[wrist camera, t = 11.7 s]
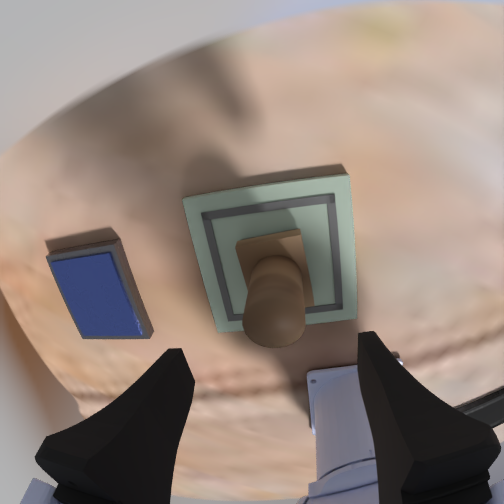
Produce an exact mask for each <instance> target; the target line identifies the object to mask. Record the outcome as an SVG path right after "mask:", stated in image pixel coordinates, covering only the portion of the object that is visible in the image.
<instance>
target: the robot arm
mask: <svg viewBox="0 0 504 504" xmlns="http://www.w3.org/2000/svg"><path fill="white" fill-rule="evenodd" d="M402 365H403V362H402V360H401V359H400V358H395V357H394V356H393V355H392V353H391V352H390V351H389V350H388V348H387V347H386V346H385V345H384V343H383V342H382V341H381V340H380V338H379V337H378V335H377V334H376V333H375V332H374V331H369V332H362V333H358V363H357V365H352V366H345V367H337V368H329V369H321V370H312V371H309V372H308V373H307V384H308V393H309V404H310V414H311V425H312V434H313V435H315V436H316V465H317V481H316V482H312V483H309V495H308V496H303V497H302V498H300V499H299V501H298V502H297V504H504V479H503V480H501V481H499V482H497V483H495V484H493V485H492V486H490V487H489V484H488V480H489V479H490V475H489V472H488V469H489V467H490V466H491V465H492V464H493V462H494V461H495V460H496V458H497V457H498V455H499V453H500V451H501V446H500V443H499V440H498V438H497V436H496V434H495V432H494V431H493V429H492V427H491V426H490V425H488V424H486V423H483V422H481V421H478V420H476V419H474V418H471V417H469V416H467V415H466V414H464V413H462V412H460V411H458V410H456V409H455V408H453V407H452V406H450V405H449V404H447V403H445V402H444V401H442V400H441V399H439V398H438V397H437V396H435V395H434V394H433V393H431V392H430V391H429V390H428V389H426V388H425V387H424V386H423V385H422V384H421V383H419V382H418V381H417V380H416V379H415V378H414V377H413V376H412V375H411V374H410V373H409V372H408V371H407V370H406V369H405V368H404V367H403V366H402ZM194 386H195V380H194V378H193V375H192V373H191V371H190V368H189V366H188V363H187V361H186V358H185V356H184V353H183V351H182V348H173V349H168V350H167V351H166V352H164V353H163V354H162V356H161V357H160V358H159V359H158V360H157V361H156V362H155V363H154V364H153V365H152V366H151V367H150V368H149V369H148V370H147V371H146V372H145V373H144V374H143V375H142V376H141V377H140V378H139V379H138V380H137V381H136V382H135V383H134V384H133V385H131V386H130V387H129V388H128V389H127V390H126V391H125V392H124V393H123V394H121V395H120V396H119V397H118V398H117V399H115V400H114V401H113V402H111V403H110V404H109V405H107V406H106V407H105V408H103V409H102V410H100V411H98V412H97V413H95V414H94V415H92V416H90V417H89V418H87V419H85V420H84V421H82V422H80V423H78V424H76V425H74V426H72V427H70V428H68V429H65V430H63V431H60V432H58V433H55V434H52V435H50V436H46V438H45V440H44V441H43V443H42V445H41V447H40V448H39V450H38V452H37V454H36V456H35V460H36V462H37V464H38V465H39V466H40V467H41V468H42V469H43V470H44V471H45V472H46V473H47V474H48V475H50V476H51V477H52V478H53V479H54V480H55V481H56V482H57V483H59V484H58V486H57V488H55V487H53V486H52V485H50V484H48V483H45V482H43V481H41V480H38V479H36V478H33V479H32V481H31V483H30V485H29V487H28V489H27V491H26V493H25V495H24V497H23V499H22V501H21V503H20V504H170V497H171V486H172V479H173V471H174V465H175V459H176V454H177V449H178V445H179V442H180V439H181V435H182V432H183V429H184V426H185V423H186V420H187V416H188V413H189V410H190V407H191V403H192V398H193V393H194Z"/></svg>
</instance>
